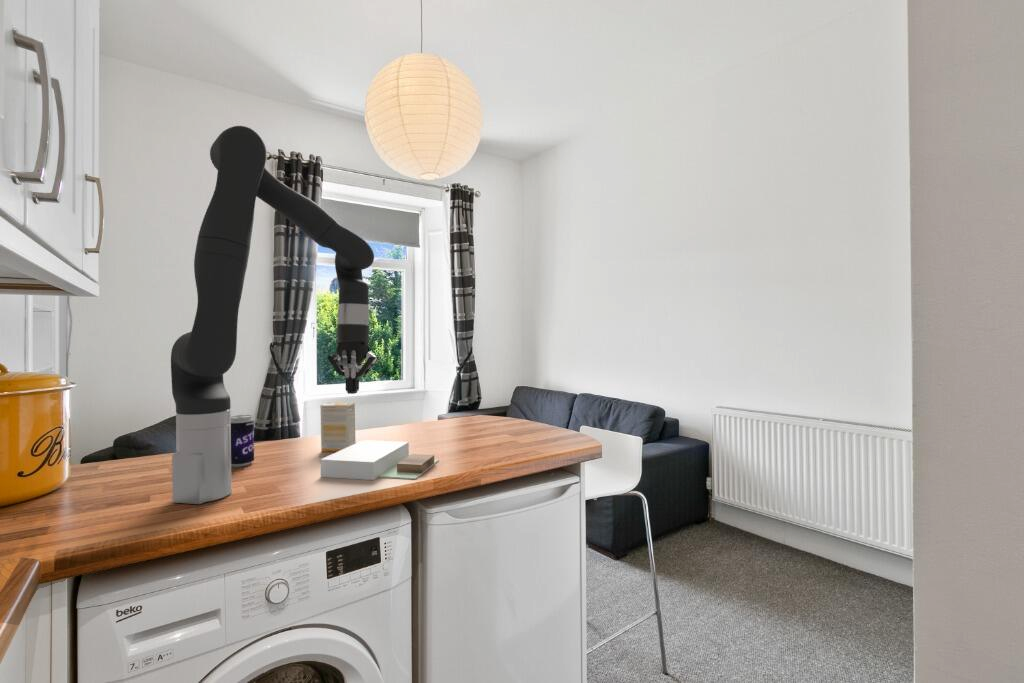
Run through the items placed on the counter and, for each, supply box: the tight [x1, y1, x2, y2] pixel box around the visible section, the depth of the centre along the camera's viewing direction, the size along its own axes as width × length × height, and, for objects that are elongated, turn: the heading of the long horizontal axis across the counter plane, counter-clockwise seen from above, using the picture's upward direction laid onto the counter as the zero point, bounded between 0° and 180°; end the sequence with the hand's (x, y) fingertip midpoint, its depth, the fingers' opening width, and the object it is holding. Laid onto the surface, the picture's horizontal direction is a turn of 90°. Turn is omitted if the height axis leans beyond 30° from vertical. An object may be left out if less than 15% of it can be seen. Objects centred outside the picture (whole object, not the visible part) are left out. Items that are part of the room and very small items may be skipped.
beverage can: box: [231, 414, 255, 468], centre depth 120 cm, size 6×6×12 cm
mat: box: [378, 458, 440, 480], centre depth 117 cm, size 16×9×1 cm, turn 170°
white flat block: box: [320, 439, 410, 481], centre depth 118 cm, size 20×13×4 cm, turn 170°
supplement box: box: [320, 402, 357, 452], centre depth 135 cm, size 8×5×13 cm, turn 84°
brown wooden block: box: [397, 453, 435, 474], centre depth 116 cm, size 9×6×2 cm, turn 170°
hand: (352, 393), depth 119 cm, fingers closed
